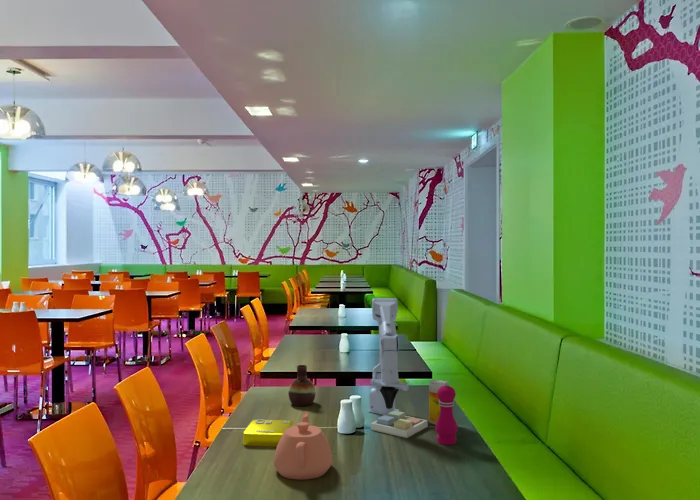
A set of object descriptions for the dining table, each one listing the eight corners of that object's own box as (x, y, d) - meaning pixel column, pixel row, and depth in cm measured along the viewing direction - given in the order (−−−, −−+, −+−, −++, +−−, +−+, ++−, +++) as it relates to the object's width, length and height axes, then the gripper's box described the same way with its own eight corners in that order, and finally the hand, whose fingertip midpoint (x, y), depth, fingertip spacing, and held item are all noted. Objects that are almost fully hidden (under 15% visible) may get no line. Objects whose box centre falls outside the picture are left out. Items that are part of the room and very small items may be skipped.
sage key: (387, 419, 204) (387, 413, 204) (394, 416, 208) (394, 410, 208) (398, 421, 201) (398, 415, 201) (404, 418, 205) (404, 412, 205)
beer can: (440, 426, 202) (440, 384, 201) (426, 423, 205) (425, 382, 205) (448, 422, 206) (448, 381, 206) (434, 419, 210) (434, 378, 210)
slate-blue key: (376, 424, 198) (376, 418, 198) (383, 421, 202) (383, 415, 202) (387, 427, 196) (387, 420, 196) (394, 423, 199) (394, 417, 199)
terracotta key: (404, 426, 200) (404, 420, 200) (410, 423, 204) (410, 417, 204) (415, 429, 197) (415, 422, 197) (421, 425, 201) (421, 419, 201)
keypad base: (371, 430, 198) (371, 423, 198) (392, 419, 210) (392, 413, 210) (406, 438, 190) (406, 431, 190) (427, 426, 201) (427, 420, 201)
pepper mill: (457, 446, 182) (457, 384, 182) (434, 444, 183) (434, 383, 183) (457, 438, 189) (457, 379, 189) (435, 437, 190) (435, 378, 190)
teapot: (279, 452, 177) (279, 409, 177) (333, 452, 177) (333, 409, 177) (268, 487, 152) (268, 437, 152) (331, 486, 152) (331, 436, 152)
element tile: (241, 446, 183) (241, 432, 183) (252, 431, 198) (252, 417, 198) (287, 447, 182) (286, 433, 182) (294, 432, 197) (294, 418, 197)
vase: (284, 401, 234) (284, 364, 234) (309, 398, 238) (309, 362, 238) (293, 409, 224) (293, 370, 224) (319, 405, 228) (319, 367, 228)
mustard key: (393, 428, 194) (393, 422, 194) (400, 424, 198) (400, 418, 198) (405, 430, 192) (405, 424, 192) (411, 427, 195) (411, 421, 195)
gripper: (365, 368, 200) (365, 407, 200) (401, 374, 191) (401, 414, 192) (376, 365, 206) (376, 402, 206) (411, 370, 197) (411, 409, 197)
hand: (389, 408), depth 199 cm, fingers closed
